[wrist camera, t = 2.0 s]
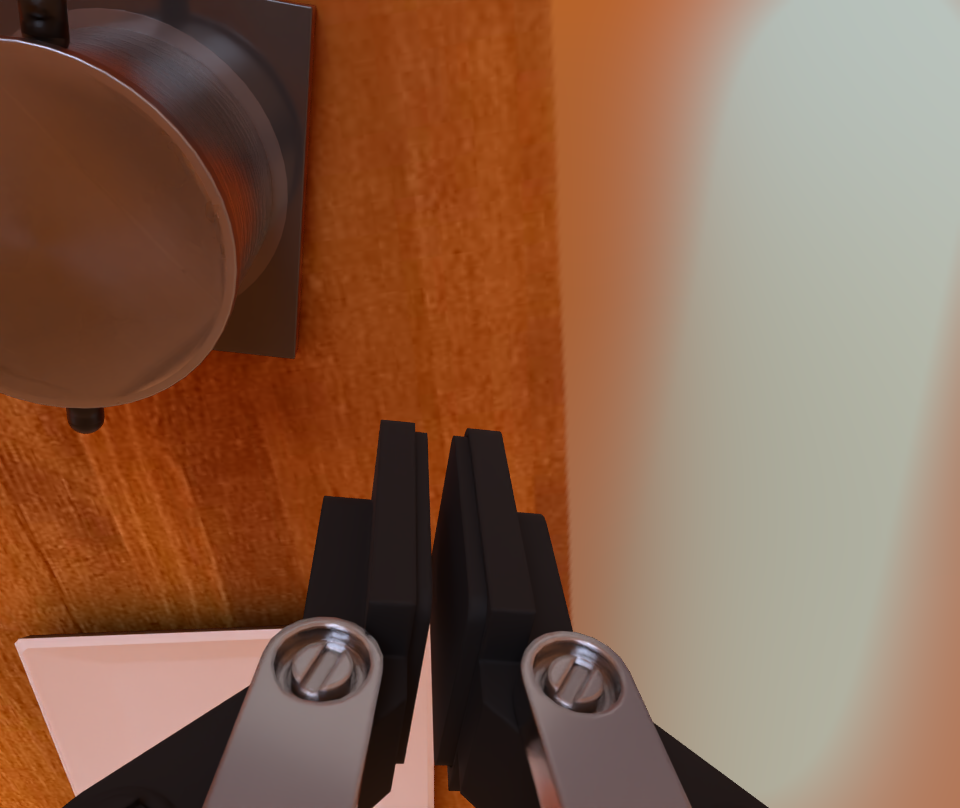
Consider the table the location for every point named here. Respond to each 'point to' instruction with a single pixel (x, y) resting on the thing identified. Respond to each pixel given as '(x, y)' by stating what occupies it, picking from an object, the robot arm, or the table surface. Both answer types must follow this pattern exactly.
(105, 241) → the pot
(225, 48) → the hob
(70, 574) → the table surface
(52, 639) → the plate
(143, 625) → the table surface
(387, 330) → the table surface
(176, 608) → the table surface
